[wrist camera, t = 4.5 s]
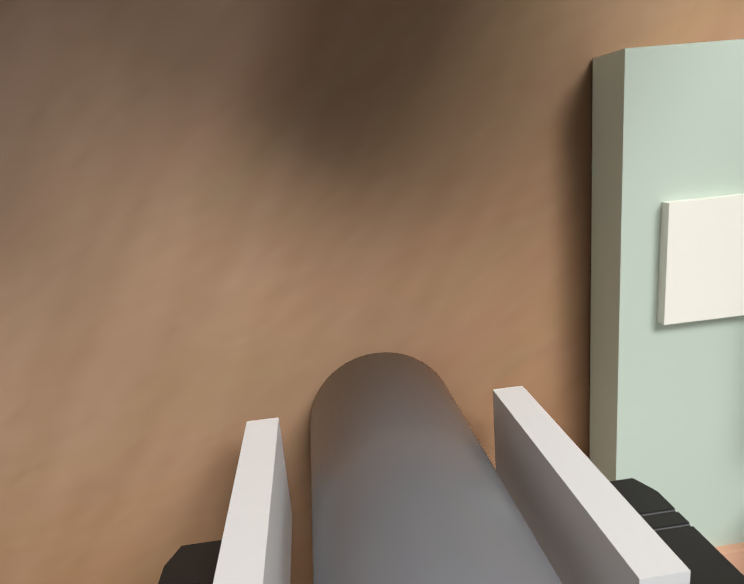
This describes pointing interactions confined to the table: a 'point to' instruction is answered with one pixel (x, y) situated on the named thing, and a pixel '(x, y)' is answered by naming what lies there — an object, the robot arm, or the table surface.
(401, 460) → the plug
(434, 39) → the table surface
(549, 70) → the table surface
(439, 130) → the table surface
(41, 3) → the table surface
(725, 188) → the socket block
